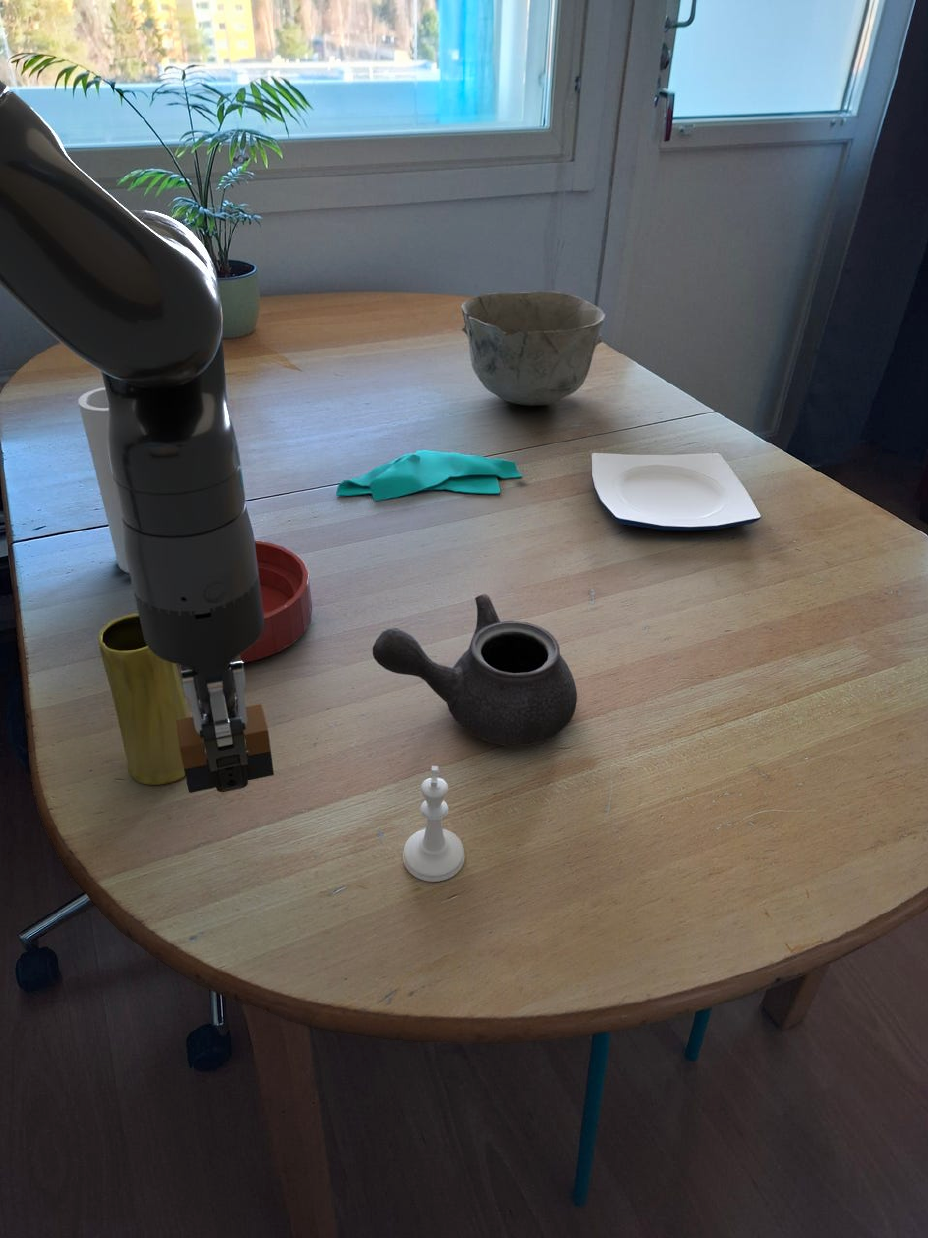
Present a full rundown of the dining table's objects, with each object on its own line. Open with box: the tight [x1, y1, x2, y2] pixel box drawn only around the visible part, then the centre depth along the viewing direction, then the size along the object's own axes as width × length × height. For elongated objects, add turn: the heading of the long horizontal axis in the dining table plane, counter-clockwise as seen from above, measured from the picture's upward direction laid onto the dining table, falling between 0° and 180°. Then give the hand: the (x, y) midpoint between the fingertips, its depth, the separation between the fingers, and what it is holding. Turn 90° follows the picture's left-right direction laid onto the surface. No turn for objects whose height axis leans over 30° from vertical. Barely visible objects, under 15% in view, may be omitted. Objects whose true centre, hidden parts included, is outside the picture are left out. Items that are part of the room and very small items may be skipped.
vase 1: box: [77, 386, 130, 574], centre depth 98 cm, size 11×7×20 cm, turn 112°
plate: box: [590, 452, 762, 531], centre depth 118 cm, size 20×20×3 cm
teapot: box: [372, 593, 578, 747], centre depth 81 cm, size 19×15×10 cm
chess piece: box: [402, 765, 466, 883], centre depth 67 cm, size 5×5×10 cm
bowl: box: [460, 290, 606, 407], centre depth 141 cm, size 22×22×15 cm
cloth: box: [335, 449, 523, 502], centre depth 122 cm, size 26×14×2 cm, turn 97°
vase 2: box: [97, 613, 190, 786], centre depth 73 cm, size 6×6×14 cm
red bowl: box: [240, 540, 313, 663], centre depth 92 cm, size 16×16×6 cm
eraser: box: [176, 703, 275, 794], centre depth 63 cm, size 6×3×4 cm, turn 109°
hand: (229, 768), depth 64 cm, fingers closed on eraser, 3 cm apart
